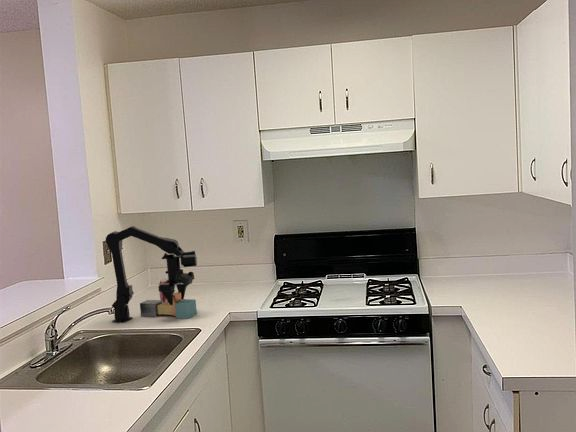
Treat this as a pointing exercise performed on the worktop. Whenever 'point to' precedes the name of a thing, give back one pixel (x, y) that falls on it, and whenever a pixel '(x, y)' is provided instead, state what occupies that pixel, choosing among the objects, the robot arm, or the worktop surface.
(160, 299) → the soda can
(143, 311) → the sleeve
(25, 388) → the worktop surface
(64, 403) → the worktop surface
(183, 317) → the socket block
